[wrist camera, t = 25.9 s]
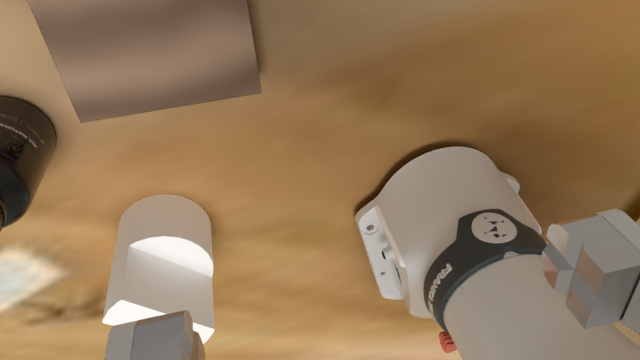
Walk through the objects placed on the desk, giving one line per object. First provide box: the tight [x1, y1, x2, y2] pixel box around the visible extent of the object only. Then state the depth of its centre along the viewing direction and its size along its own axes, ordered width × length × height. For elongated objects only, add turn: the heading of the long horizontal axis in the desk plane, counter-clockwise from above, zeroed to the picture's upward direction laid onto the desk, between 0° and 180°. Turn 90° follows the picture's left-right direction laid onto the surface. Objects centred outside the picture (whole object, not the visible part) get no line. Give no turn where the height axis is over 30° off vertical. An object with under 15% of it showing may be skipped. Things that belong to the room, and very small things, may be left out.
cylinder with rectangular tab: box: [102, 194, 215, 343], centre depth 44 cm, size 9×9×12 cm
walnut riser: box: [27, 0, 262, 123], centre depth 35 cm, size 14×14×4 cm
